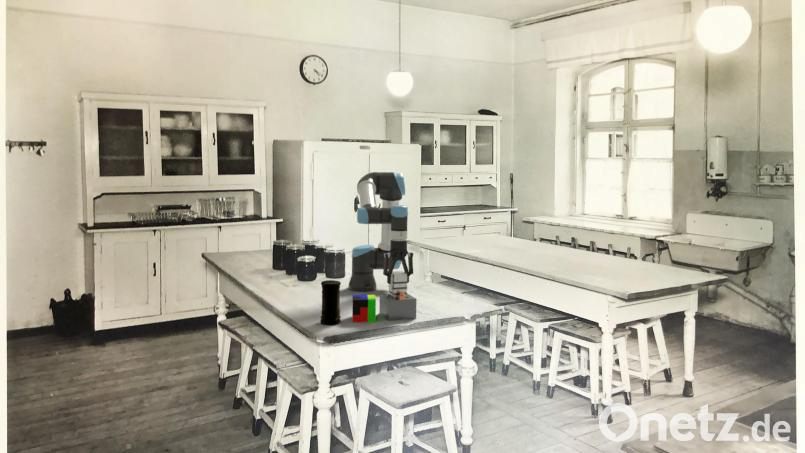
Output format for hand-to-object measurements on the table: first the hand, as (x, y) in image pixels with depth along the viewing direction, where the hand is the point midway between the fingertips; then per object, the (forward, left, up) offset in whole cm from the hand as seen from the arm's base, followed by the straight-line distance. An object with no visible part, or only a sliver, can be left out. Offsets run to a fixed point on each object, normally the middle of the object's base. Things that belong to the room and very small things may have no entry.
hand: (397, 290), depth 297 cm
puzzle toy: (-12, -11, -12) cm, 20 cm away
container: (-23, -22, -12) cm, 34 cm away
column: (0, 0, -12) cm, 12 cm away
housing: (0, 0, -12) cm, 12 cm away
